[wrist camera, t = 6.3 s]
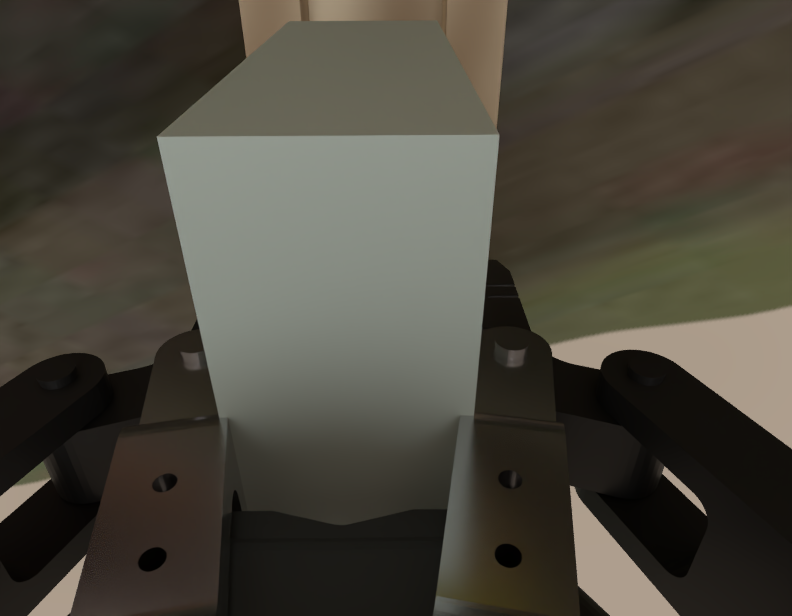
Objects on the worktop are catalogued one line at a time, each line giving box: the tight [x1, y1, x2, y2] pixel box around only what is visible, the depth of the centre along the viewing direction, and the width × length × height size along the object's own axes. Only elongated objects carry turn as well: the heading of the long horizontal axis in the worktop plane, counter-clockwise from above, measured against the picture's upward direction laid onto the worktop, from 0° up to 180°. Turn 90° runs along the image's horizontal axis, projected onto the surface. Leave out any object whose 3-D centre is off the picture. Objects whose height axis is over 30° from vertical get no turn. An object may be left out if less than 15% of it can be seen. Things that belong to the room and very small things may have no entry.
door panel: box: [157, 20, 499, 525], centre depth 11 cm, size 3×10×8 cm, turn 0°
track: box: [239, 0, 508, 129], centre depth 21 cm, size 8×15×3 cm, turn 0°
